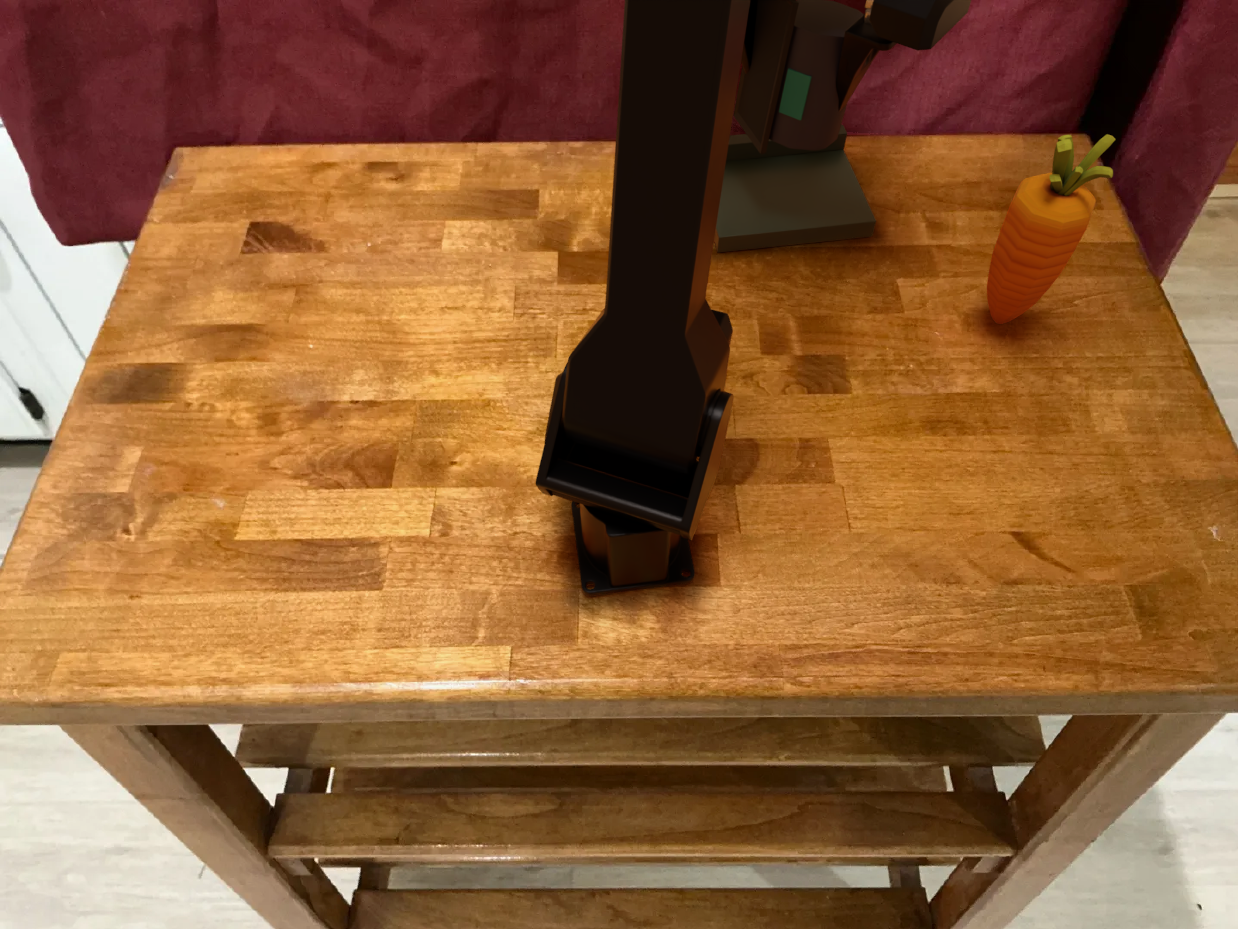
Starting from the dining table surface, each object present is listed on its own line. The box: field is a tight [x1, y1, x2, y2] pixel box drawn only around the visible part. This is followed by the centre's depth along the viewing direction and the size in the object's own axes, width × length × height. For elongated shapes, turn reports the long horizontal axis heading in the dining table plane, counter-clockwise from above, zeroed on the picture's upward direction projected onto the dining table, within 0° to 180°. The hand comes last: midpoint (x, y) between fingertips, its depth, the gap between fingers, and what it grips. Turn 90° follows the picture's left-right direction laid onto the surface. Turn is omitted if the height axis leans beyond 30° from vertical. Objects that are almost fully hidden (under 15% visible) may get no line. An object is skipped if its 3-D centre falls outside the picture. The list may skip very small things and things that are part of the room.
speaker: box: [733, 0, 865, 154], centre depth 61 cm, size 8×6×10 cm
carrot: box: [986, 134, 1116, 325], centre depth 57 cm, size 5×5×15 cm
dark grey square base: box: [714, 124, 877, 253], centre depth 70 cm, size 10×12×3 cm
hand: (795, 90), depth 63 cm, fingers closed on speaker, 7 cm apart
